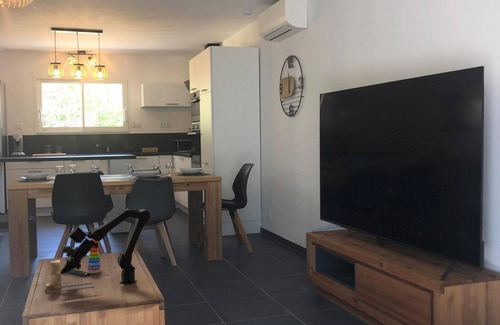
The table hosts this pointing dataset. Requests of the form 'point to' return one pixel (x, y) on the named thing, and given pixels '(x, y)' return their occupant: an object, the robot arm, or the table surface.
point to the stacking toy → (94, 260)
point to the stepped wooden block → (54, 276)
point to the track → (73, 288)
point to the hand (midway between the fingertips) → (61, 273)
